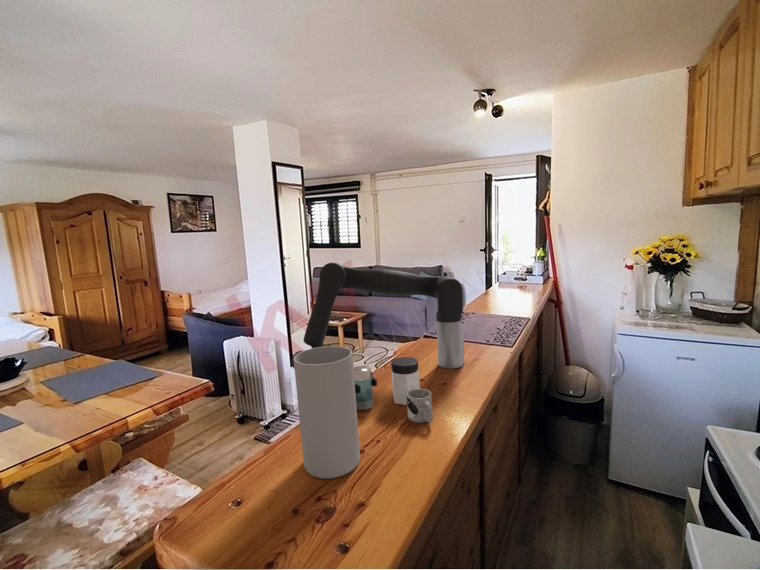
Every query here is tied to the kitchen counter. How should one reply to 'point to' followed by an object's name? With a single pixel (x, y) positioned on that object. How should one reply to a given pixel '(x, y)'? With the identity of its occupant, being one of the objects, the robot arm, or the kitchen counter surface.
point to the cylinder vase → (327, 411)
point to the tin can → (363, 387)
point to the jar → (404, 378)
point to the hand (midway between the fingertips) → (367, 386)
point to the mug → (419, 406)
